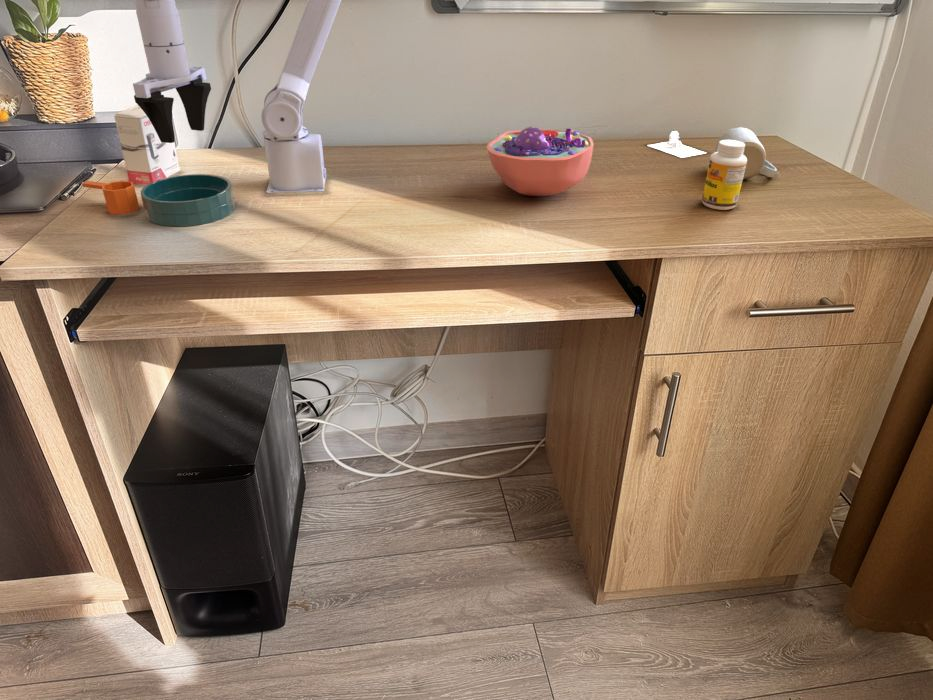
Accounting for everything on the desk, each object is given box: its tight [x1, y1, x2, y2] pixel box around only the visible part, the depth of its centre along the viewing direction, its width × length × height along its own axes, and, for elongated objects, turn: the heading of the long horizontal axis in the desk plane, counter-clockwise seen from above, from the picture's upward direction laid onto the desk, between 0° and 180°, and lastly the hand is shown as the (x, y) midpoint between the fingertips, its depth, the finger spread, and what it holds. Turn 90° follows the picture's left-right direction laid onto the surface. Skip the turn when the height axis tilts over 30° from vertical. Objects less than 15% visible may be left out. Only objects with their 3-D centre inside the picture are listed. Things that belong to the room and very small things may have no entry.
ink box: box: [114, 104, 181, 186], centre depth 117 cm, size 9×5×12 cm, turn 168°
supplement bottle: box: [701, 140, 747, 211], centre depth 109 cm, size 6×6×10 cm
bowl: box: [140, 173, 236, 227], centre depth 105 cm, size 13×13×4 cm
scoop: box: [81, 180, 140, 215], centre depth 106 cm, size 8×4×4 cm, turn 73°
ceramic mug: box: [714, 126, 778, 180], centre depth 124 cm, size 11×8×8 cm
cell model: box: [486, 126, 595, 197], centre depth 114 cm, size 17×20×11 cm
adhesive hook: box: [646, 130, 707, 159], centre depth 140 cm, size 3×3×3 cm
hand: (183, 135), depth 109 cm, fingers open, 7 cm apart
